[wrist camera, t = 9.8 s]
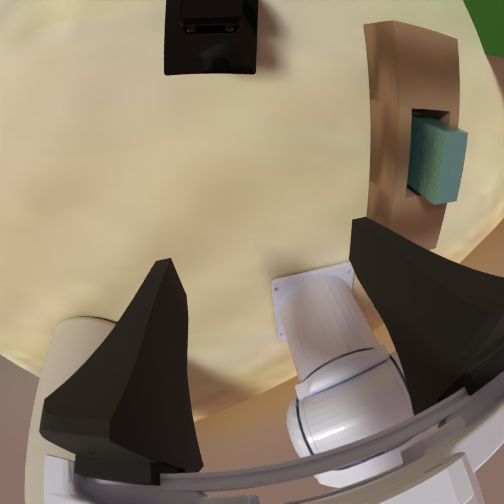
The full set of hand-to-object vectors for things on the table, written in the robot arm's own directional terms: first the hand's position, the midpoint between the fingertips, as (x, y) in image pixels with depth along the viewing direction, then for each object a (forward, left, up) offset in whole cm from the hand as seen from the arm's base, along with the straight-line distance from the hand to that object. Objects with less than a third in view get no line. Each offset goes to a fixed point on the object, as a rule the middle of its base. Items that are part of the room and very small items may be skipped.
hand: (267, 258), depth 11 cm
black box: (+12, 0, -10) cm, 16 cm away
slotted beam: (+1, -13, -9) cm, 16 cm away
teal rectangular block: (+1, -13, -10) cm, 16 cm away
